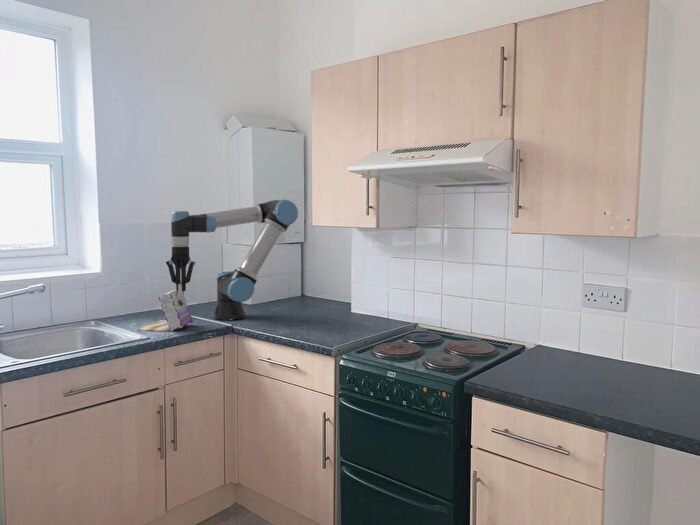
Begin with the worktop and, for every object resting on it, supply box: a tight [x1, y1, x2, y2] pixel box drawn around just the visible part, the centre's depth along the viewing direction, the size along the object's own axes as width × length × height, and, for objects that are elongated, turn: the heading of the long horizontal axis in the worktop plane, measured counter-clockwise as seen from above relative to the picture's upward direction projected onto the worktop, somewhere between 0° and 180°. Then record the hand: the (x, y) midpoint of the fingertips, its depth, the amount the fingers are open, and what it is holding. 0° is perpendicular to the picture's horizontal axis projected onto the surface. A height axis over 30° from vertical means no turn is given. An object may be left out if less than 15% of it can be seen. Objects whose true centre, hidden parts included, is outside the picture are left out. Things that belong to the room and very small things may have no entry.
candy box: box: [158, 289, 193, 332], centre depth 250 cm, size 14×6×16 cm, turn 176°
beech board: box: [136, 321, 171, 333], centre depth 252 cm, size 14×16×1 cm
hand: (181, 298), depth 250 cm, fingers closed
